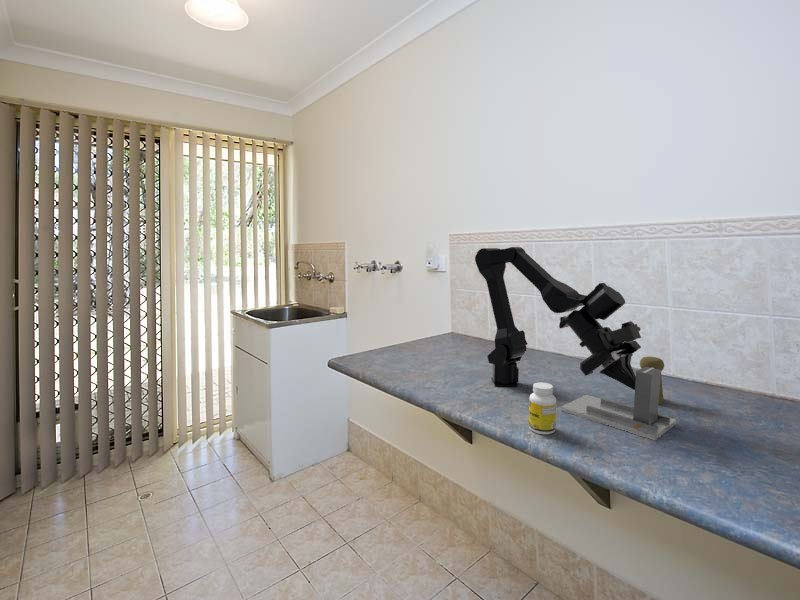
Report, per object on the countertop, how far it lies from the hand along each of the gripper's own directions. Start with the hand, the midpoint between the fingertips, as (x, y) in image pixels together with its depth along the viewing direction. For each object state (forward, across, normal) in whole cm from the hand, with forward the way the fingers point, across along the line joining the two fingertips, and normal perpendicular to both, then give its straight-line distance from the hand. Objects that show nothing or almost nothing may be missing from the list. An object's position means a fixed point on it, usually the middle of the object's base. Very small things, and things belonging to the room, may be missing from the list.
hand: (638, 389), depth 88 cm
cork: (+3, +17, +8) cm, 19 cm away
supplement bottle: (-3, -19, +14) cm, 23 cm away
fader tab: (+6, 0, +3) cm, 7 cm away
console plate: (+2, 0, +8) cm, 9 cm away
